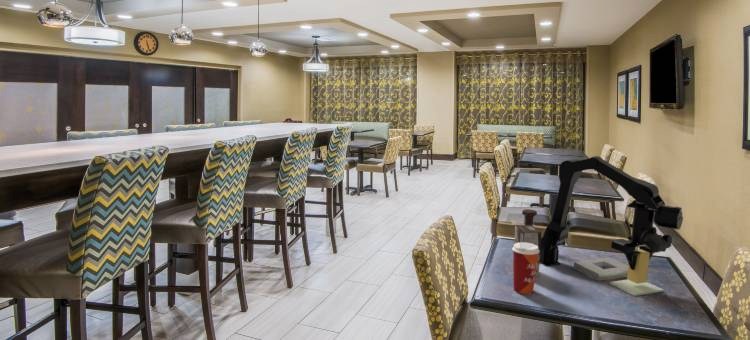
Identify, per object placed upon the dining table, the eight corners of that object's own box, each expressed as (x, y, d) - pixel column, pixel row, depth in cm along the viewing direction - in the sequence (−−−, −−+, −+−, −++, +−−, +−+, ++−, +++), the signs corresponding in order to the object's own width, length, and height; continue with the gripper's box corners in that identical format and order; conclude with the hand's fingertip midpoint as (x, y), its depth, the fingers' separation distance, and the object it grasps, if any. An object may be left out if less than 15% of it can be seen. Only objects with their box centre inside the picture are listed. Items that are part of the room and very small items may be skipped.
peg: (636, 283, 155) (640, 254, 153) (626, 278, 159) (630, 250, 157) (646, 282, 156) (649, 252, 155) (636, 277, 160) (639, 248, 158)
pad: (634, 296, 152) (634, 294, 151) (609, 283, 161) (609, 282, 161) (663, 291, 155) (663, 289, 155) (637, 279, 165) (637, 277, 164)
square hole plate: (598, 281, 163) (598, 274, 163) (573, 268, 174) (573, 261, 174) (635, 275, 168) (635, 268, 168) (608, 263, 179) (609, 257, 179)
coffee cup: (533, 298, 149) (536, 251, 147) (506, 292, 154) (509, 247, 151) (539, 288, 156) (542, 244, 154) (514, 283, 161) (516, 240, 158)
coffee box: (539, 277, 166) (542, 232, 163) (521, 277, 165) (524, 232, 163) (528, 267, 175) (531, 224, 172) (511, 267, 174) (514, 224, 172)
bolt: (533, 244, 200) (535, 209, 198) (535, 248, 196) (538, 212, 193) (518, 243, 201) (521, 209, 198) (521, 247, 196) (523, 212, 194)
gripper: (641, 232, 144) (635, 281, 147) (687, 227, 150) (681, 274, 152) (612, 222, 154) (607, 268, 157) (657, 218, 160) (651, 262, 163)
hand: (637, 268), depth 157 cm, fingers closed on peg, 4 cm apart
